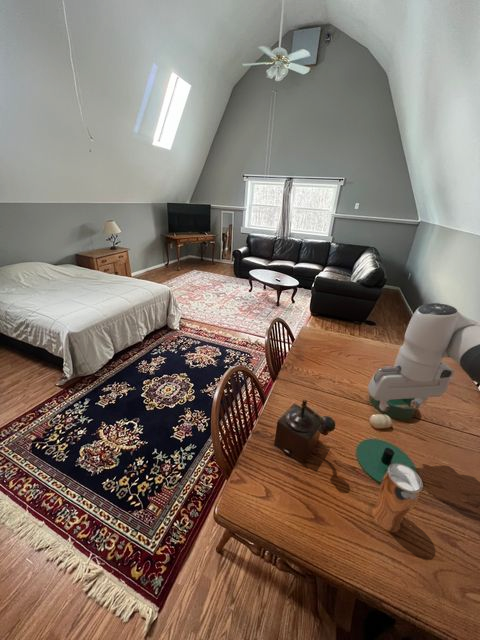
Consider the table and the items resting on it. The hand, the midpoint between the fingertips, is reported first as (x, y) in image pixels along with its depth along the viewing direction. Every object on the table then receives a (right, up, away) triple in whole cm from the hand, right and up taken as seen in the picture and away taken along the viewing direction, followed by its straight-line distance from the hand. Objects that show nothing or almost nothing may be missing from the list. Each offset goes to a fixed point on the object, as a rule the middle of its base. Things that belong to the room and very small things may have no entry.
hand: (398, 408), depth 73 cm
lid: (-2, -17, +3) cm, 17 cm away
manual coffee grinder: (-24, -14, +7) cm, 29 cm away
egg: (+3, -11, +17) cm, 20 cm away
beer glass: (-9, -23, -10) cm, 27 cm away
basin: (+12, -8, +26) cm, 30 cm away
